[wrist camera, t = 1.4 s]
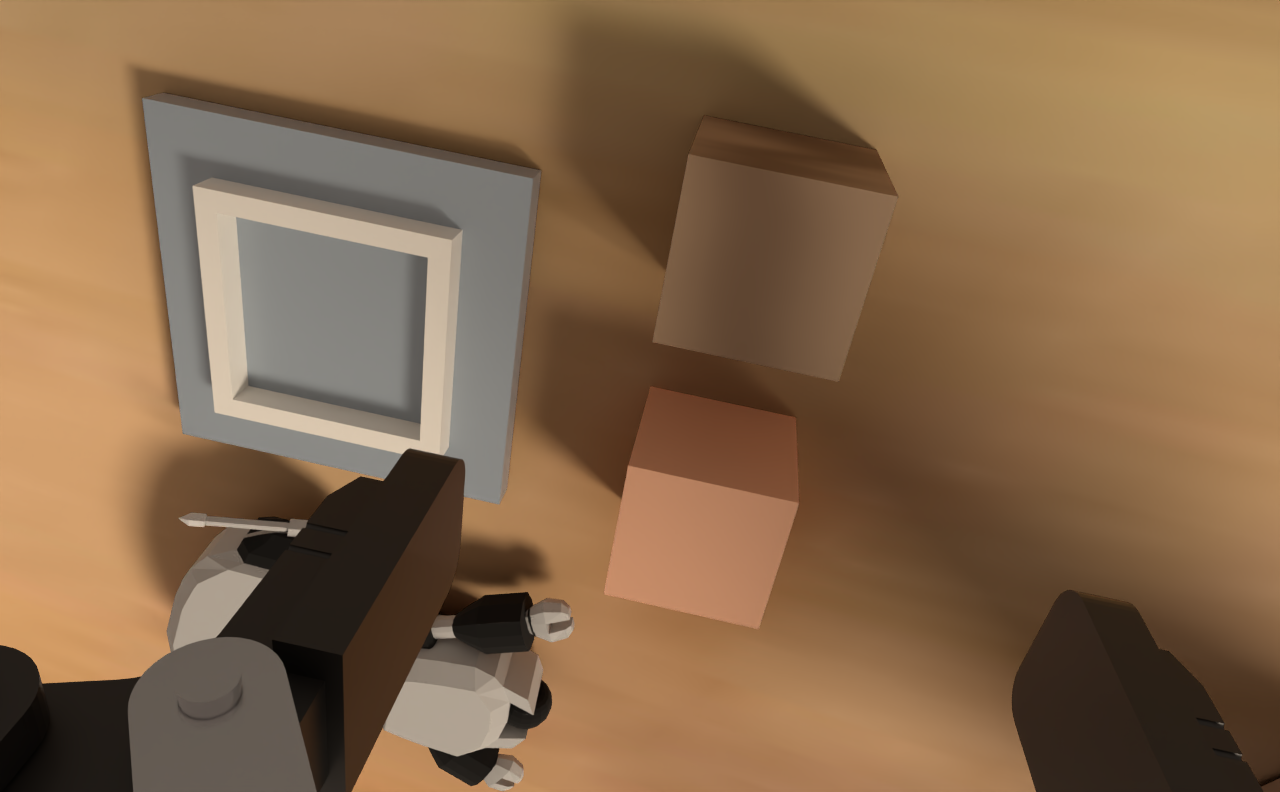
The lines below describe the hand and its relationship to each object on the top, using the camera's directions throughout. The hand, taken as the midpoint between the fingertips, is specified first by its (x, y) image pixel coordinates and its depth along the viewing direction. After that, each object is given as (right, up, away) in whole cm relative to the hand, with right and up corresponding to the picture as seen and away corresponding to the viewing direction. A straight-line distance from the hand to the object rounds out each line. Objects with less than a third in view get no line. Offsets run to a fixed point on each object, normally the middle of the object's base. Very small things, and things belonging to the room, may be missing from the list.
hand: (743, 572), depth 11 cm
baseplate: (-11, +5, +17) cm, 21 cm away
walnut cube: (+2, +8, +14) cm, 16 cm away
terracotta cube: (+1, 0, +18) cm, 18 cm away
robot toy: (-12, -7, +25) cm, 28 cm away
